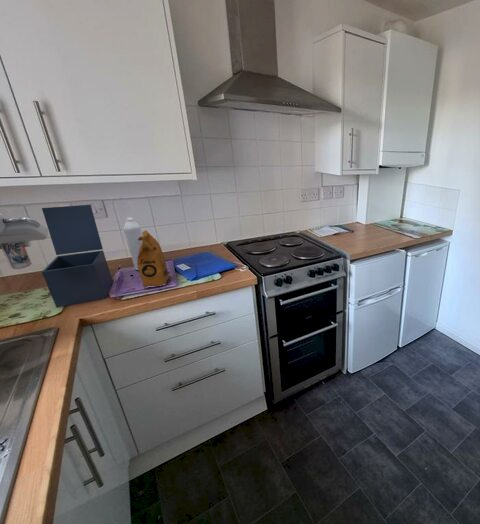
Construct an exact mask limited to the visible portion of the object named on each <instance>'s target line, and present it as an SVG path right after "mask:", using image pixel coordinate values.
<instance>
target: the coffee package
mask: <svg viewBox="0 0 480 524" xmlns="http://www.w3.org/2000/svg"><path fill="white" fill-rule="evenodd" d="M142 235H143V236H141V237H139V239H138V240H139V241H140V240H142V241H143V242H142V244H141V246H140V250H139V254H138V258H137V266H138V269H139V271H138V273H139V276H140V279H141V282H142V286H143V287H144V288H145V287H147V286H160V285H163V284H165V283H166V284H167V282H168V281H169V280H170V273H169V270H168V266H167V263H166V259H165V255H164V253H163V250H162V248H161V245H160V243H159V242H158V240H157V239H156V238H155V237H154V236H153V235H152V234H151V233H150V232H149V231H148V230H147V229H146V230H143V231H142ZM168 279H169V280H168ZM167 280H168V281H167Z"/></svg>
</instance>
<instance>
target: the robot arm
mask: <svg viewBox="0 0 480 524" xmlns="http://www.w3.org/2000/svg"><path fill="white" fill-rule="evenodd" d="M48 235H49V230H48V227H46V226H45V225H44V224H43V223H41V222H40V221H37V220H36V219H34V218H31V217H14V218H6V217H5V216H4V215H3V214H2V213H1V212H0V244H2V243H12V242H21V245H22V246H23V247H25V248H28V247H31V245H32V241H43V240H44V241H45V240H46V239H47V238H48ZM0 250H2V248H1V246H0Z"/></svg>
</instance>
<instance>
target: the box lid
mask: <svg viewBox="0 0 480 524" xmlns="http://www.w3.org/2000/svg"><path fill="white" fill-rule="evenodd" d="M41 210H42V213H43V217H44V220H45V224H46V226H47V227H46V228H47V230H48V234H49V236H50V239H51V242H52V243H51V244H52V246H53V249H54V252H55V255H56V256H62V255H70V254H78V253H86V252H94V251H102V250H104V249H103V244H102V241H101V237H100V234H99V230H98V226H97V223H96V222H97V221H96V219H95V215H94V212H93V211H94V210H93V207H92V204H79V205H77V204H76V205H63V206H52V207H51V206H50V207H49V206H48V207H42V208H41Z"/></svg>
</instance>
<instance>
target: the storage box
mask: <svg viewBox="0 0 480 524" xmlns="http://www.w3.org/2000/svg"><path fill="white" fill-rule="evenodd" d="M41 274H42V276H43V279H44V281H45V284H46V286H47V288H48V291H49V293H50V296H51V298H52V301H53V303H54V305H55V307H56V308H61V306H62V307H67V306H71V305H72V306H73V305H78V304H83V303H88V302H94V301H98V300H104V299H107V297H108V294H109V292H110V290H111V287H112V285H111V284H113V282H114V280H113V277H112V273H111V271H110V268H109V265H108V261H107V258H106V255H105V251H104V249H101V250H93V251H86V252H78V253H70V254H62V255H56V257H54V258H53V260H51V262H50V263H49V264H48V265H47V266H46V267H45V268H44V269H43V270H42V271H41ZM112 281H113V282H112Z"/></svg>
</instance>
